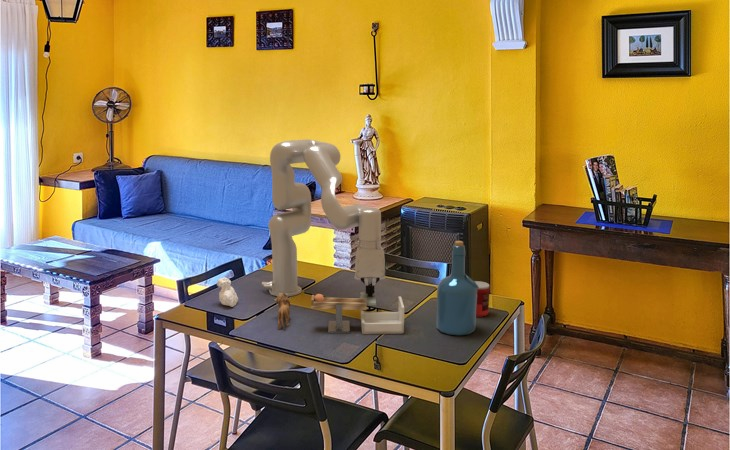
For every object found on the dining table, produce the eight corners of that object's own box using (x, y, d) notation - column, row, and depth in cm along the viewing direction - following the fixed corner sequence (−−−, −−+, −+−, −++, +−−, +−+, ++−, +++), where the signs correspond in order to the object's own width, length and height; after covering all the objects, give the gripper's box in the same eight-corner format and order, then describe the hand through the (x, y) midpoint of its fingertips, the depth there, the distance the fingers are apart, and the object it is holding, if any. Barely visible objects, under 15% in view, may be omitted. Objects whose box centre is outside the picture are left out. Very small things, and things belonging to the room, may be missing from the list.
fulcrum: (328, 333, 194) (327, 306, 192) (328, 323, 203) (328, 296, 201) (349, 333, 195) (349, 305, 193) (349, 322, 204) (349, 296, 202)
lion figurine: (274, 316, 210) (273, 291, 208) (289, 314, 211) (289, 290, 209) (277, 331, 196) (277, 305, 194) (294, 330, 197) (293, 304, 195)
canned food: (463, 310, 216) (464, 281, 214) (484, 309, 217) (486, 280, 215) (468, 318, 209) (469, 287, 206) (490, 317, 209) (492, 287, 207)
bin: (362, 334, 194) (362, 307, 192) (360, 321, 205) (360, 296, 203) (403, 333, 195) (404, 307, 193) (400, 321, 205) (400, 296, 203)
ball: (314, 304, 195) (314, 295, 195) (314, 301, 198) (314, 292, 198) (323, 305, 195) (323, 295, 195) (324, 301, 199) (324, 292, 198)
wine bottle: (439, 337, 192) (442, 246, 186) (432, 322, 205) (435, 236, 198) (481, 336, 193) (485, 246, 186) (472, 321, 206) (476, 236, 199)
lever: (311, 308, 195) (311, 299, 194) (313, 292, 210) (313, 284, 210) (377, 310, 196) (377, 301, 195) (374, 294, 211) (374, 286, 211)
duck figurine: (229, 304, 228) (209, 282, 225) (244, 291, 228) (225, 270, 225) (227, 315, 216) (206, 292, 213) (243, 302, 216) (223, 279, 213)
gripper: (348, 247, 200) (348, 299, 203) (392, 246, 200) (392, 298, 204) (347, 241, 207) (348, 292, 211) (390, 241, 208) (390, 291, 212)
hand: (370, 295), depth 207 cm, fingers closed
